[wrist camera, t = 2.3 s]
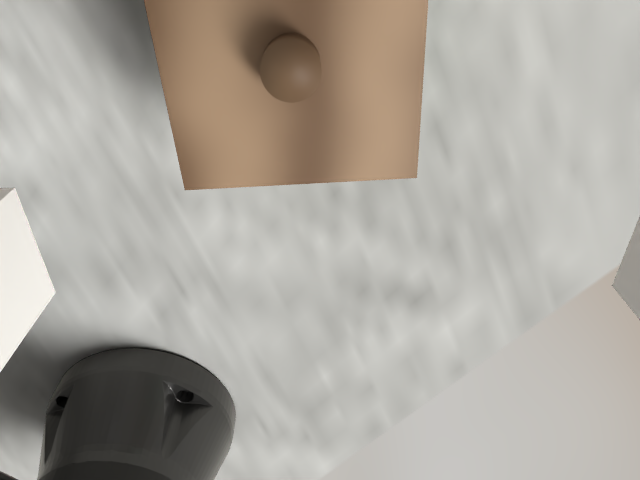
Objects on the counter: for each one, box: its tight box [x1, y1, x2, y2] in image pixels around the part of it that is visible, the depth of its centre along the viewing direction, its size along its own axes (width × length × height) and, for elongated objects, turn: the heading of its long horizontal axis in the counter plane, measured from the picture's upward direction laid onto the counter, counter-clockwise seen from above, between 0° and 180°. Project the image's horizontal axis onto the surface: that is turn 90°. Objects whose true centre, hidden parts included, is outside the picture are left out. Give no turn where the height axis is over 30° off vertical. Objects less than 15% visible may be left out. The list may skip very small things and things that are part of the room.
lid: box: [144, 0, 428, 190], centre depth 21 cm, size 11×11×4 cm
